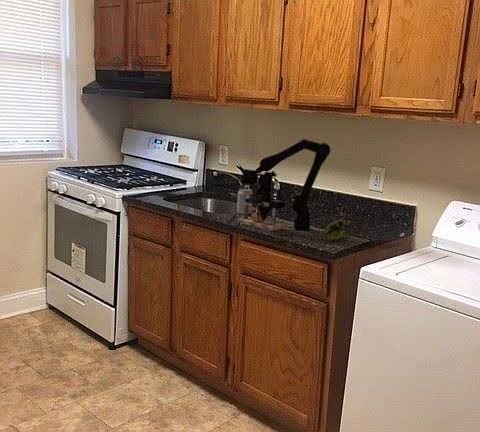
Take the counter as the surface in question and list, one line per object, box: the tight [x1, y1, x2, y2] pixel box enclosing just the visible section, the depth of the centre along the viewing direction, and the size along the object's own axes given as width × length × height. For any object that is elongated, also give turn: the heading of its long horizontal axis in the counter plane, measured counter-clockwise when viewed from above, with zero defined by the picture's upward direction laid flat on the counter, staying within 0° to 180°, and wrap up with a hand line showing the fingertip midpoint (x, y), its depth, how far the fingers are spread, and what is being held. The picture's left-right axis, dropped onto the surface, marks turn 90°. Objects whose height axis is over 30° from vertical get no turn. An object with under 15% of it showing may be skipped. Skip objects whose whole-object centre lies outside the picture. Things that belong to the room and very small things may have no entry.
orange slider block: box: [250, 206, 262, 222], centre depth 244 cm, size 4×4×6 cm
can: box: [236, 188, 254, 215], centre depth 267 cm, size 8×8×12 cm
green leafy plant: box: [324, 216, 352, 242], centre depth 223 cm, size 11×11×12 cm
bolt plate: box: [236, 204, 283, 232], centre depth 243 cm, size 21×7×8 cm, turn 46°
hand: (263, 220), depth 242 cm, fingers closed
